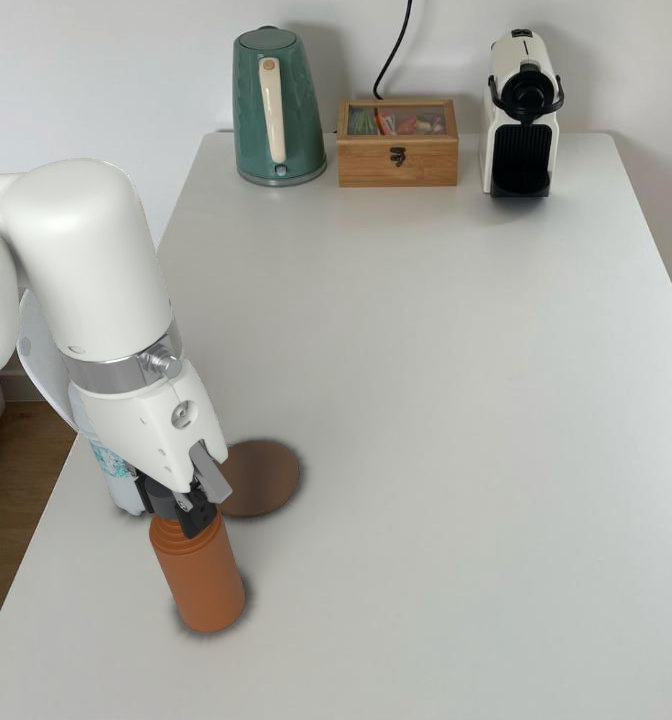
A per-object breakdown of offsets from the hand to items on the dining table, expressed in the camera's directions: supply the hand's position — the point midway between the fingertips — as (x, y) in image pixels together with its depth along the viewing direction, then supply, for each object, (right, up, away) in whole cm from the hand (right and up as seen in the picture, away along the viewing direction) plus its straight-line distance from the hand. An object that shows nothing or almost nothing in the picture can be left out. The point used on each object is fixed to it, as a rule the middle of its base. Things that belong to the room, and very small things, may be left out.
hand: (181, 511), depth 66 cm
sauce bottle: (0, -10, +9) cm, 14 cm away
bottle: (-9, -2, +19) cm, 21 cm away
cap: (0, +1, -1) cm, 1 cm away
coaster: (+2, 0, +20) cm, 20 cm away
